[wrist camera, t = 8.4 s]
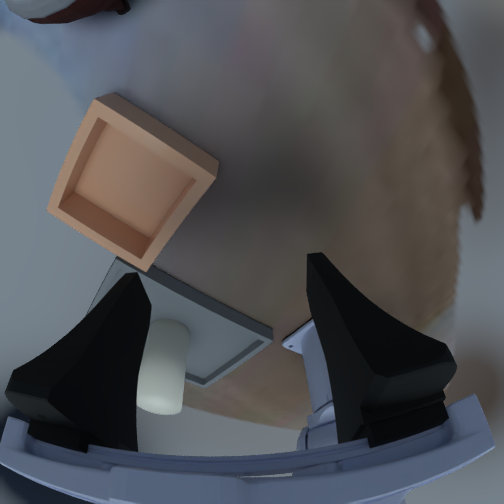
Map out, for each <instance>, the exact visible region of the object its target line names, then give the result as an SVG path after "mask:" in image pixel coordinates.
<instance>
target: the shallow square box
mask: <svg viewBox="0 0 504 504" xmlns="http://www.w3.org/2000/svg"><path fill="white" fill-rule="evenodd" d="M218 166H219V161H218V160H217V159H215V158H214V157H212V156H211V155H209V154H208V153H206V152H205V151H204V150H202V149H201V148H199V147H198V146H196V145H195V144H193V143H192V142H190V141H189V140H187V139H186V138H184V137H183V136H181V135H180V134H178V133H177V132H175V131H174V130H172V129H171V128H169V127H168V126H166V125H165V124H163V123H162V122H160V121H159V120H157V119H155V118H154V117H152V116H151V115H149V114H148V113H146V112H144V111H143V110H141V109H140V108H138V107H137V106H135V105H133V104H132V103H130V102H129V101H127V100H125V99H124V98H122V97H120V96H119V95H117V94H116V93H111V94H107V95H104V96H101V97H98V98H95V99H94V100H93V102H92V104H91V105H90V107H89V109H88V111H87V113H86V115H85V117H84V119H83V121H82V123H81V125H80V127H79V129H78V131H77V133H76V136H75V138H74V140H73V142H72V144H71V147H70V149H69V151H68V154H67V156H66V158H65V161H64V164H63V166H62V168H61V171H60V174H59V176H58V179H57V181H56V184H55V187H54V190H53V193H52V195H51V198H50V201H49V204H48V207H47V211H48V212H49V213H51V214H52V215H54V216H56V217H57V218H58V219H60V220H61V221H63V222H64V223H66V224H67V225H69V226H70V227H72V228H74V229H75V230H77V231H78V232H80V233H81V234H83V235H85V236H86V237H88V238H89V239H91V240H93V241H94V242H96V243H97V244H99V245H101V246H103V247H104V248H106V249H107V250H109V251H111V252H112V253H114V254H116V255H117V256H119V257H121V258H122V259H124V260H126V261H127V262H129V263H131V264H133V265H134V266H136V267H138V268H139V269H141V270H143V271H145V272H147V270H148V269H149V267H150V266H151V264H152V263H153V262H154V260H155V259H156V257H157V256H158V254H159V253H160V252H161V250H162V249H163V248H164V246H165V245H166V243H167V242H168V241H169V239H170V238H171V236H172V235H173V234H174V232H175V231H176V230H177V228H178V227H179V226H180V224H181V223H182V222H183V220H184V219H185V218H186V216H187V215H188V214H189V212H190V211H191V210H192V208H193V207H194V206H195V205H196V203H197V202H198V201H199V199H200V198H201V197H202V196H203V194H204V193H205V192H206V190H207V189H208V188H209V187H210V185H211V184H212V183H213V182H214V180H215V179H216V178H217V172H218Z"/></svg>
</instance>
